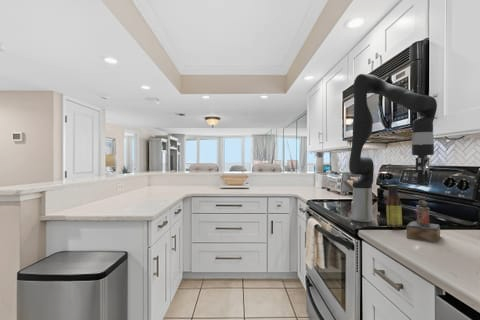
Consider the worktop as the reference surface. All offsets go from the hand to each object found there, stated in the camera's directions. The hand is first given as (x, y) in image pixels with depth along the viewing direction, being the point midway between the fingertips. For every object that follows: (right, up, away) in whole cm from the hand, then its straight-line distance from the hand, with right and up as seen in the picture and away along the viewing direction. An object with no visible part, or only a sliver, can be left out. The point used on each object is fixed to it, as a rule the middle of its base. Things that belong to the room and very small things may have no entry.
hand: (422, 182), depth 111 cm
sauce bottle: (-3, -23, +15) cm, 27 cm away
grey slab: (-1, -22, -1) cm, 22 cm away
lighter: (-1, -18, -1) cm, 17 cm away
